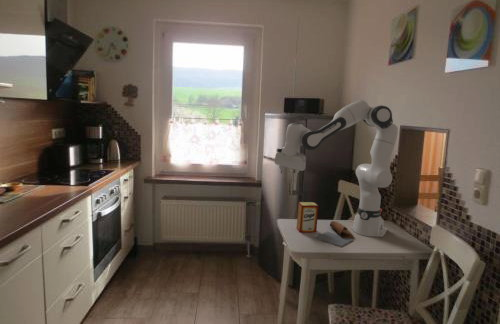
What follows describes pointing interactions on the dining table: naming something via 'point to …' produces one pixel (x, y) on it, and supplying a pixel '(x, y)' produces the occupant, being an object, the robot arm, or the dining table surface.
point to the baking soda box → (307, 217)
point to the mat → (334, 239)
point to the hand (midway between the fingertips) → (288, 175)
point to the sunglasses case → (341, 230)
